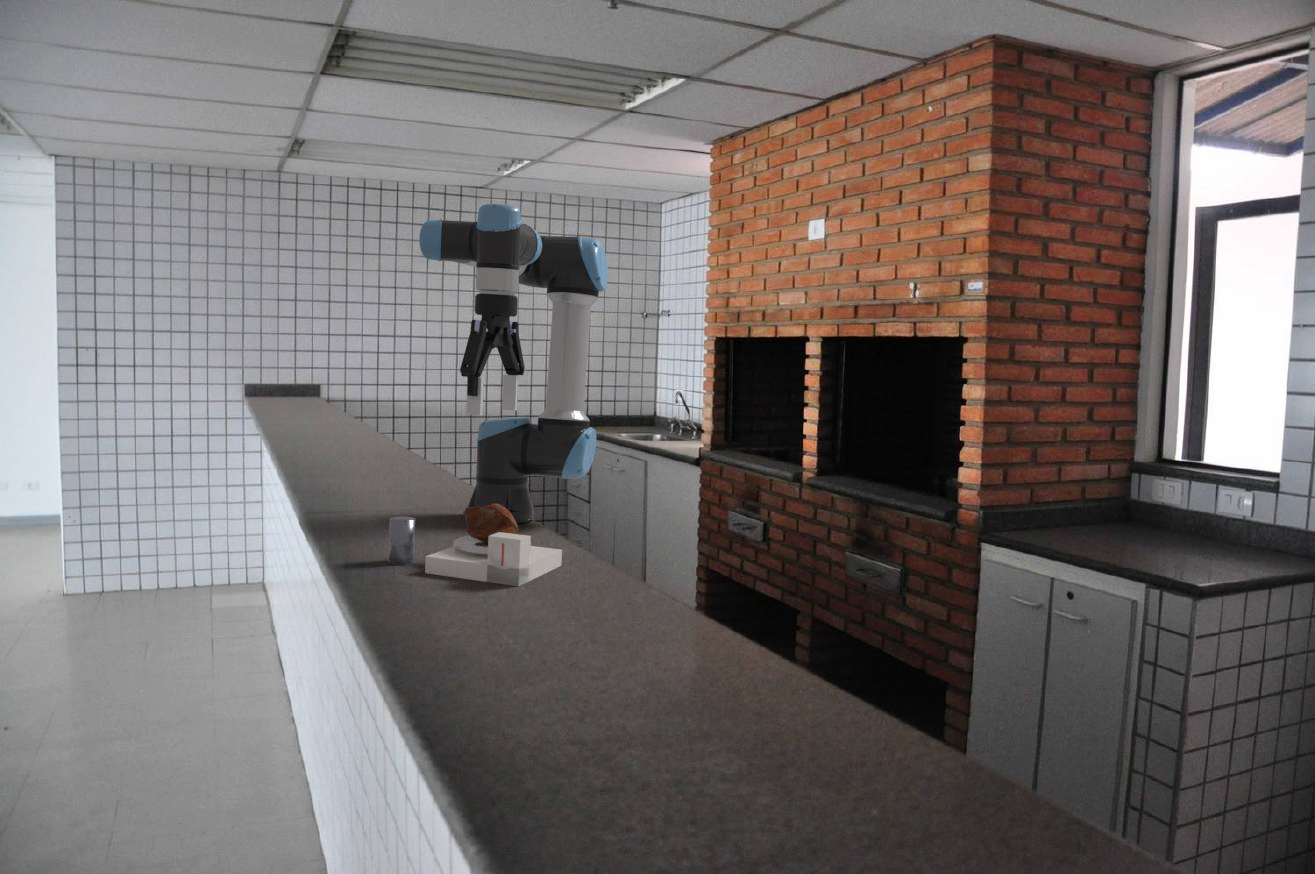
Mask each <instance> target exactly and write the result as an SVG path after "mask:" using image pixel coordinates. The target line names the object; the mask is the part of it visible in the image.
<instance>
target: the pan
mask: <svg viewBox="0 0 1315 874" xmlns="http://www.w3.org/2000/svg"><path fill="white" fill-rule="evenodd" d="M452 544H453V546H452V547H454V548H455V549H457V550H459V551H462V552H466V553H472V554H481V555H488V543H487V542H483V541H480V540H478V539H475V538H473V537H471V536H470V535H465V536H461V537H458V538H456V539H454V540H453V543H452ZM531 546H532V541H531V542H530V549H531Z"/></svg>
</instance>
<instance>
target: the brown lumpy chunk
mask: <svg viewBox="0 0 1315 874" xmlns="http://www.w3.org/2000/svg"><path fill="white" fill-rule="evenodd" d="M462 514H463V515H464V516H465V523H466V524H465V525H466V529H467V530H466V531H467V533H468V536H471V537H473V538H475V539H478V540H480V541H483V542H487V543H488V536H490V535H492V534H495V533H498V532H503V533H511V534H519V535H521V532H520V529H519V525H518V523H516V521H515V519H514V517H513V515H512V514H511V513H510V512H509V511H508V510H507V509H506V508H505V507H503V506H502V505H500V504H495V503H493V504H491V505H487V506H481V507H480V506H476V507H475V506H474V507H468V506H467V507H466V508H465V510H464V511H463V512H462Z"/></svg>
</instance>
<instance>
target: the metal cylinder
mask: <svg viewBox="0 0 1315 874" xmlns="http://www.w3.org/2000/svg"><path fill="white" fill-rule="evenodd" d="M416 519H417V518H415V517H411V516H392V517H389V523H388V525H389V527H388V552H387V553H388V558H387V563H388V564H389V565H392V566H393V565H394V566H407V565H413V564H415V553H416V551H415V550H416V522H417V520H416Z"/></svg>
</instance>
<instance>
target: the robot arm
mask: <svg viewBox="0 0 1315 874" xmlns="http://www.w3.org/2000/svg"><path fill="white" fill-rule="evenodd" d="M419 249H420V252H421V253H422V254H421V255H422V256H423V257H424V258H425V259H426V260H430V261H438V262H453V263H457V264H463V265H467V266H470V267H474V268H476V270H475V271H476V272H475V275H474V278H475V290H476V291H478V293H476V294H475V296H474V314H475V315H477V316H481V318H480V319H471V321H470V331H469V335H468V339H467V342H466V346H465V351H464V352H463V353H464V355H463V357H462V360H461V365H460V368H459V372H460V374H461V377H463V378H464V377H465V378H467V382H466V383H467V384H466V407H465V408H466V409H465V414H466V415H468V416H469V415H470V416H481V417H482V416H483V401H484V400H483V399H484V377H482V374H483V372H484V369H485V367H486V364H487V362H488V359H489V358H490V356H491V352H492V350H493V349H495V348H496V349H497V351H498V354H499V357H500V360H501V363H502V365H503V368H504V371H505V374H503V375H502V377H503V378H502V396H501V397H502V398H501V399H502V401H501V402H502V403H501V410H503V411H505V410H506V411H518V396H519V395H518V390H519V376H524V374H525V369H526V368H525V362H524V357H523V350H522V346H521V341H520V333H519V321H511V319H510V317H512V318H513V317H516V316H517V315H518V304H519V302H518V301H519V299H518V297H517V295H516V293H519V284H520V285H523V286H527V287H532V288H536V289H537V288H540V289H546V297H547V298H548V299H549V300H550V302H551V303H552V309H551V310H552V312H551V313H552V314H551V326H550V337H549V338H550V341H549V355H548V356H549V357H548V370H547V384H546V396H545V398H546V399H545V409H544V411H542V412H541V413H540V414H539V415H538V416H537V424H535V423H532V421H531V418H530V416H529V417H528V416H518V417H503V418H493V419H491V418H490V419H486V420H483V421H482V422H481V423H480V424H479V426H478V433H477V434H478V435H477V439H476V442H477V444H476V445H477V446H476V472H475V473H476V479H475V480H476V481H475V486H474V488H473V489H474V490H473V491H472V495H471V497H470V500H469V503H468V505H467V508H468V507H474V506H475V507H476V506H480V507H481V506H487V505H491V504H493V503H495V504H500V505H502V506H503V507H505V508H506V509H507V510H508V511H509V512H510V513H511V514H512V515H513V517H514V519H515V521H516V523H517V524H522V523H523V524H524V523H529V522H530V521H529V520H528V519H530V520H532V521H533V520H534V519H535V518H534V516H535V509H534V505H533V502H532V498H531V494H530V490H529V486H528V481H529V480H528V479H529V478H528V476H536V477H537V476H538V477H546V478H549V477H550V478H557V479H559V478H560V479H561V478H562V480H566V479H581V478H583V477H585V476H586V475H587V474H588V473H589V471H590V469H591V467H592V464H593V461H594V458H595V454H596V449H597V431H596V429H595V428H593V427H590V423H591V422H590V419H589V417H588V416H587V415H586V414H585V411H584V408H585V395H586V393H585V392H586V382H587V381H586V380H587V368H588V367H587V366H588V355H589V354H588V353H589V337H590V323H591V311H592V310H591V309H592V306H593V305H594V304H595V303H596V302H597V301H598V300H599V294H600V293H601V292H605V290H607V287H608V282H609V281H608V280H609V268H608V266H609V265H608V260H607V255H606V251H605V248H604V246H603V244H602V243H601V241H600V240H599V239H596V238H594V237H593V238H592V237H585V236H557V235H556V236H555V235H554V236H553V235H550V236H549V235H540V234H539V232H538V231H536V230H535V229H534V228H533V227H532V226H530V225H528V224H526V223H523V222H522V214H521V209H520V208H519V207H517V206H514V205H509V204H503V203H502V204H499V203H487V204H482V205H481V206H479V209H478V215H477V220H476V221H467V220H466V221H464V220H444V219H439V220H438V219H435V220H434V219H433V220H432V219H431V220H429V219H428V220H427V221H425V222H424V223H423V224H422V226H421V228H420V231H419Z"/></svg>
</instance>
